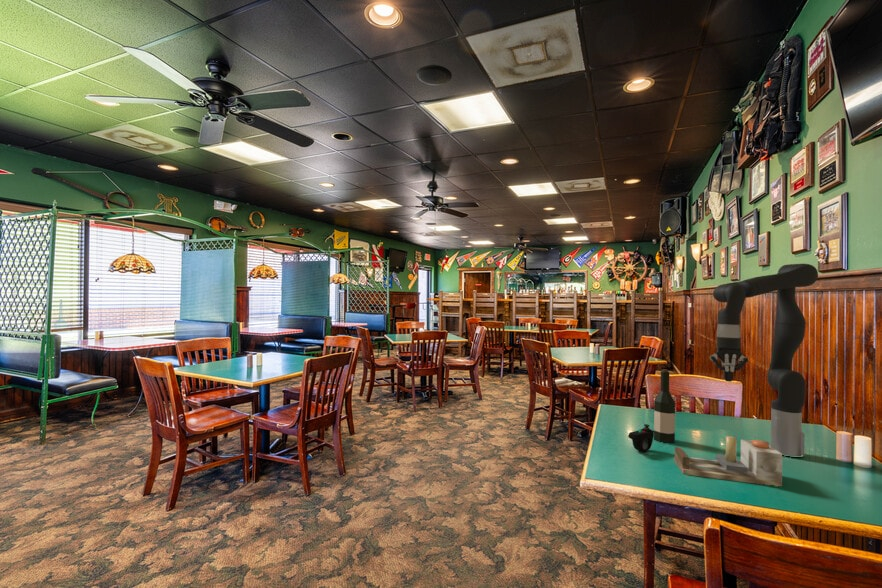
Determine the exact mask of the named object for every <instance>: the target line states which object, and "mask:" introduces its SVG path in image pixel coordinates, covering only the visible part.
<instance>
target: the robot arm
mask: <svg viewBox="0 0 882 588" xmlns="http://www.w3.org/2000/svg"><path fill="white" fill-rule="evenodd" d="M818 277H819V272H818V269H817V267H815V266H814V265H812V264H809V263H791V264H789V263H788V264H784V265H782V266H781V267H779V269H778V271H777V273H775V274H767V275H766V274H765V275H760V276H755V277H750V278H747V279H743V280H741V281H740V280H739V281H735V282H729V283H722V284H720V285H718V286H716V287H715V288H714V289H713V292H712V296H713V299H715V300H716V301H717V302H719V303H725V304H726V305H725V307H724V308H720V309H719V310H718V311H717V328H716V350H714V351H715V352H714V353H713V354H712V355H709V357H708V358H709V360H711V362H712V363H713V364H714V365H715V366H716V368H717V369H719V370H721V371H723V374H722V375H723V377H722V378H723V380H724V381H725V382H731V383H732V382H733V381H734V373H735V372H737V371H740V370H741V369H742V368H743V367H744V366H745V365H746V364H747V363H748V362H749V361H750V360H749V358H748V357H746V356H744V355H743V353H742V351H741V347H742V344H741V343H742V342H741V339H742V331H741V312H742V310H743V307H744V304H745V300H746V299H747V298H753V297H757V296H760V295H765V294H768V293H772V292H776V296H777V297H776V313H775V321H774V329H773V330H774V331H773V342H772V352H771V357H770V358H771V359H770V362H769V366H768V371H767V376H766V377H767V378H766V379H767V383H768V385H769V386H770V387H771V388H772V389H774V390H775V391H778V393H777V398H776V399H774V400H772V401H771V402H770V404H771V405H770V409H771V410H770V446H771V447H773V448H774V449H775V450H777V451H778V452H780V453H781V454H782V455H789V456H801V455H803V456H804V457H805V432H804V431H802V430H803V426H802V424H803V422H802V421H803V419H802V418H803V416H802V415H803V414H802V413H803V407H805V403H806V390H807V383H806V378H805V377H804V375H803V374H801V373H800V372H799V371H796V370H793V369H792V368H793V367H792V366H793V360H794V356H795V354H796V352H797V351H798V349H799V348H800V346H801V345H802V343H803V341H804V339H805V335H806V334H805V333H806V318H805V316H804V314H803V312H802V310H801V309H800V307H799V306H798V303H797V300H796V288H805V287H810V286H812V285H814V284H815V283H816V282H817V280H818ZM718 358H719V360H720V361H721V363H720V362H719V361H718Z"/></svg>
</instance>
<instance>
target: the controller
mask: <svg viewBox="0 0 882 588" xmlns="http://www.w3.org/2000/svg"><path fill="white" fill-rule="evenodd" d="M627 438H628V439H630V440H632V445H633V448H634V449H635V450H637V451H638V452H641V453H646V452H648V451H649V450H650V449H651V447H652V445H653V440H654V429H651V428H650V424H646V423H645V424H644V423H643V427H642V428H640V429H638V430H635V431H631V432H629V433H628V435H627Z"/></svg>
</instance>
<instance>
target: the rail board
mask: <svg viewBox="0 0 882 588" xmlns="http://www.w3.org/2000/svg"><path fill="white" fill-rule="evenodd" d="M752 440H753V439H752ZM752 440H751V439H740V461H741V462H742V463H743V464H744V465H745V466H746V467H747V468H748V473H747V472H739V471H731V470H726V469H725V468H724V467H723V466H722V465H721V464H720V463H719V462H718V461H717V460H716V459H708V458H700V457H691V456H688V454H687V453H686V452H685V450H684V449H683V448H682V447H679V446H675V447H674V457H673V462H674V463H675V464H676V466H677V467H678V469H679V470H680V472H681V473H682V474H683V475H685V476H686V475H688V476H695V477H703V478H711V479H717V480H724V481H725V480H727V481H731V482H740V483H750V484H755V483H756V484H758V485H763V484H765V485H764V486H770V485H775V486H774V487H778V486H782V487H783V456H782V454H781V453H780V452H778V451H777V450H775V449H774V448H773V447H771V444H769V448H767V449H765V448H759V447H755V446H753V445H752Z"/></svg>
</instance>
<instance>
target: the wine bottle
mask: <svg viewBox="0 0 882 588" xmlns="http://www.w3.org/2000/svg"><path fill="white" fill-rule="evenodd" d="M653 404H654V405H653V407H654V409H653V410H654V413H653V415H654V416H653V420H654V421H653V431H654V436H653V440H654V441H655V440H656V441H655V442H658V441H659V442H658V443H660V442H663V443H662V444H666V443H673V444H675V442H676V400H675V399H674V397H673V396H672V393H670V371H669V370H668V369H664V368H663V369H661V370H660V391H659V392H658V393H657V395H656V396H655V397H654V403H653Z"/></svg>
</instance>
